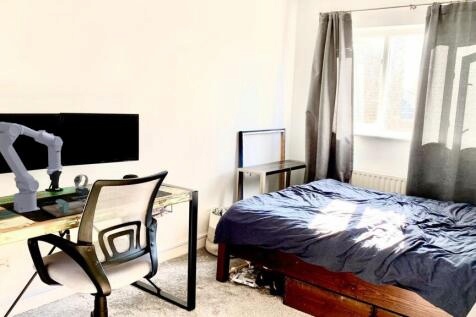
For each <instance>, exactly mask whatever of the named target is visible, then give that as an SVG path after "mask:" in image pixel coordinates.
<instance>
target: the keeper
mask: <svg viewBox="0 0 476 317" xmlns="http://www.w3.org/2000/svg"><path fill="white" fill-rule="evenodd" d="M55 203H57V204H60V205H62V212H63V213H68V212H69V202H68V201H66V200H64V199H61V198H59V199H58V198H57V199H55Z"/></svg>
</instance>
